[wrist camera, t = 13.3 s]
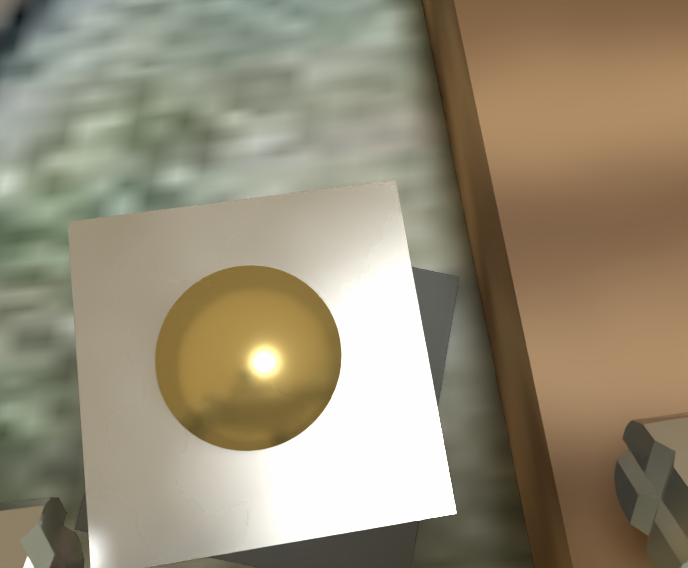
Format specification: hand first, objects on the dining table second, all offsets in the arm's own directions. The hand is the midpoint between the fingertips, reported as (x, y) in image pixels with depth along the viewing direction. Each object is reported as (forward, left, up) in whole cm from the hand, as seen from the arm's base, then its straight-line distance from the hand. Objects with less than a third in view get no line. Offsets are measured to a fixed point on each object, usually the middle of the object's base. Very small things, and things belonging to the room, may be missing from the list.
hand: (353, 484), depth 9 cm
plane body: (+7, -7, -9) cm, 13 cm away
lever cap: (+1, +2, -9) cm, 9 cm away
